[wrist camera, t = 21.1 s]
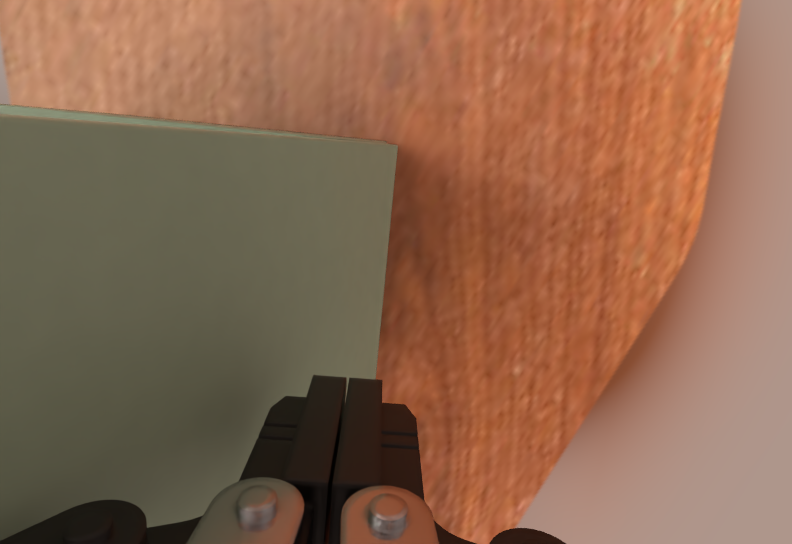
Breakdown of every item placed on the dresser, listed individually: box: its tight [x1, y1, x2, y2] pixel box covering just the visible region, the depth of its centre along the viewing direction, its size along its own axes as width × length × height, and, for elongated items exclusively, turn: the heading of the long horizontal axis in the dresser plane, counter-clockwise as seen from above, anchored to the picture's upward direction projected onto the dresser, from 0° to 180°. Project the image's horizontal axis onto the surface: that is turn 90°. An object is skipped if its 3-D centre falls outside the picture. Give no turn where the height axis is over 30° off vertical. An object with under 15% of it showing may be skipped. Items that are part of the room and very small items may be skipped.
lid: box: [0, 114, 398, 541], centre depth 11 cm, size 14×12×1 cm
